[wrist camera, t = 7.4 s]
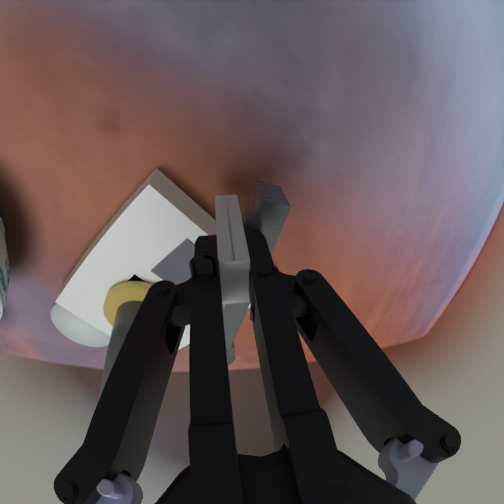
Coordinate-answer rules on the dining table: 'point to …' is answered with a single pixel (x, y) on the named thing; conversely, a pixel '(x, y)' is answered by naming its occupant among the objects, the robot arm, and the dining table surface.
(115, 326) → the plug
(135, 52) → the dining table surface
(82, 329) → the mat
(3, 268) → the chinaware
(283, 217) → the grey lever handle
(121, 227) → the socket block
